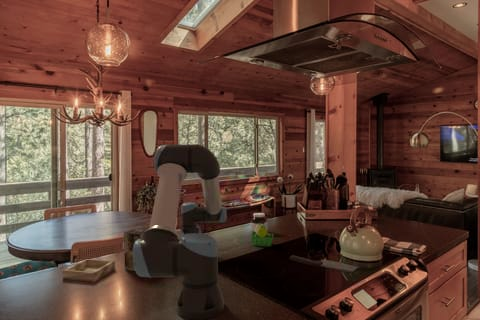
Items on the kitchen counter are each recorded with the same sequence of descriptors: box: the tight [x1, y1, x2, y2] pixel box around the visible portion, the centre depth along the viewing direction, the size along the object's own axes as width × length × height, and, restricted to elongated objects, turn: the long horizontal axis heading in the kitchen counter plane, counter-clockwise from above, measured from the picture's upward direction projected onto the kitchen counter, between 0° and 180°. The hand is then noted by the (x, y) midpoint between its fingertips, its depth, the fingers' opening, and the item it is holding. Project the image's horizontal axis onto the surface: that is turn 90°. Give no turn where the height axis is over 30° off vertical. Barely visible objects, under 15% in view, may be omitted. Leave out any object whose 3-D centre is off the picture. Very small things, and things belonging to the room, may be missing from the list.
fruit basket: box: [250, 225, 274, 247], centre depth 175 cm, size 11×9×11 cm
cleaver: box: [289, 254, 359, 273], centre depth 146 cm, size 29×10×2 cm, turn 59°
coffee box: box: [123, 228, 147, 272], centre depth 143 cm, size 9×6×16 cm
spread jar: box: [250, 212, 269, 234], centre depth 197 cm, size 12×11×12 cm
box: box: [62, 258, 116, 283], centre depth 137 cm, size 14×14×4 cm
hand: (130, 249), depth 141 cm, fingers open, 13 cm apart
